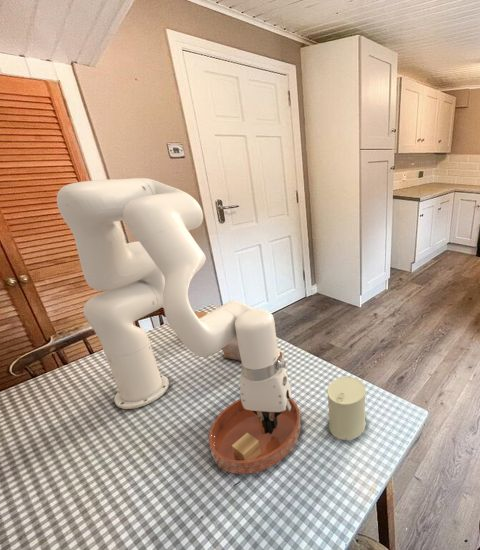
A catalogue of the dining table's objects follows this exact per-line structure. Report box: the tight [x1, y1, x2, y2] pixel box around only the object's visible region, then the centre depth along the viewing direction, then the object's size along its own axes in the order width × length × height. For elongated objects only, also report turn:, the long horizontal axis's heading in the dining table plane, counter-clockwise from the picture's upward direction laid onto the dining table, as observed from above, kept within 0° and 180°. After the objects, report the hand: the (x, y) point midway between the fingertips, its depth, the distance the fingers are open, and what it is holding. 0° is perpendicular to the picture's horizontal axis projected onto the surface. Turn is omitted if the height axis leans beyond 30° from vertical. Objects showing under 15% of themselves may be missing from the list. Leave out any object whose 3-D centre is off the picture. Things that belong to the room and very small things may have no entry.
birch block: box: [232, 433, 261, 461], centre depth 67 cm, size 4×4×4 cm
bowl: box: [208, 397, 302, 475], centre depth 72 cm, size 20×20×4 cm
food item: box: [221, 339, 241, 362], centre depth 100 cm, size 14×8×10 cm, turn 73°
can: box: [326, 376, 367, 441], centre depth 74 cm, size 9×9×12 cm
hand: (270, 428), depth 72 cm, fingers closed
